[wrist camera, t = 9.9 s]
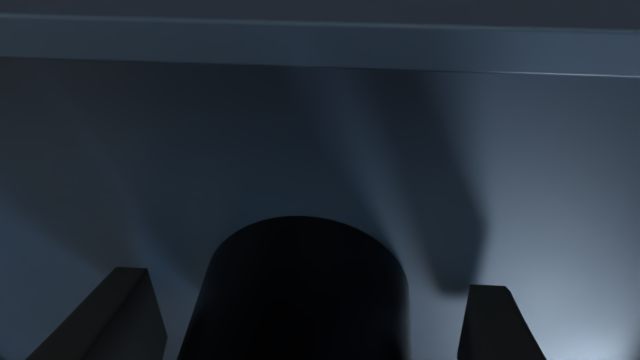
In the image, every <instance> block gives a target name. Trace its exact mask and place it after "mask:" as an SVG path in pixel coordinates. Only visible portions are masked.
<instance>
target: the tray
mask: <svg viewBox="0 0 640 360" xmlns="http://www.w3.org/2000/svg"><path fill="white" fill-rule="evenodd" d="M284 216H310V217H319V218H324V219H330V220H334V221H337V222H341V223H344V224H347V225H349V226H352V227H354V228H357V229H359V230H361V231H363V232H364V233H366V234H368V235H370V236H371V237H373V238H374V239H376V240H377V241H379V242H380V243H381V244H382V245H384V246H385V247H386V248H387V249H388V250H389V251H390V252H391V253H392V254H393V256H394V257H395V258H396V259H397V260H398V262H399V264H400V265H401V267H402V269H403V270H404V273H405V275H406V278H407V280H408V285H409V295H410V321H411V347H412V360H457V352H458V346H459V341H460V336H461V330H462V325H463V320H464V314H465V309H466V304H467V298H468V293H469V288H470V284H476V285H496V286H506V287H507V288H508V289H509V290H510V291H511V294H512V296H513V298H514V300H515V302H516V304H517V306H518V308H519V310H520V312H521V314H522V316H523V318H524V320H525V322H526V323H527V325H528V327H529V329H530V331H531V333H532V335H533V336H534V338H535V340H536V342H537V343H538V345H539V347H540V349H541V350H542V352H543V354H544V356H545V357H546V359H547V360H640V0H0V360H25V359H26V358H27V357H28V356H29V355H30V354H31V353H32V352H33V351H34V350H35V349H36V348H37V347H38V346H39V345H40V344H41V343H42V342H43V341H44V340H45V339H46V338H47V337H48V336H49V335H50V334H51V333H52V332H53V331H54V330H55V329H56V328H57V327H58V326H59V325H60V324H61V323H62V322H63V321H64V320H65V319H66V318H67V317H68V316H69V315H70V314H71V313H72V312H73V311H74V310H75V309H76V308H77V306H78V305H79V304H80V303H81V302H82V301H83V300H84V299H85V298H86V297H87V296H88V295H89V294H90V293H91V292H92V291H93V290H94V289H95V288H96V287H97V286H98V285H99V284H100V283H101V281H102V280H103V279H104V278H105V277H106V276H107V275H108V274H109V273H110V272H111V271H112V270H113V269H114V268H116V267H132V268H148V272H149V275H150V279H151V282H152V285H153V289H154V292H155V295H156V299H157V302H158V305H159V309H160V312H161V316H162V319H163V322H164V326H165V329H166V332H167V336H168V339H167V343H166V347H165V351H164V356H163V360H177V357H178V354H179V352H180V349H181V346H182V343H183V340H184V337H185V334H186V331H187V328H188V325H189V322H190V319H191V316H192V313H193V310H194V307H195V304H196V301H197V298H198V295H199V292H200V289H201V286H202V283H203V280H204V277H205V274H206V271H207V268H208V266H209V263H210V260H211V258H212V256H213V254H214V252H215V251H216V250H217V248H218V247H219V246H220V245H221V244H222V243H223V242H224V241H225V240H226V239H227V238H228V237H229V236H231V235H232V234H234V233H235V232H236V231H238V230H240V229H242V228H244V227H246V226H248V225H250V224H253V223H256V222H258V221H261V220H266V219H270V218H275V217H284Z"/></svg>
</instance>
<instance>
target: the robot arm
mask: <svg viewBox="0 0 640 360" xmlns="http://www.w3.org/2000/svg"><path fill="white" fill-rule="evenodd" d="M167 339H168V336H167V332H166V329H165V326H164V322H163V319H162V316H161V312H160V309H159V305H158V302H157V299H156V295H155V292H154V289H153V285H152V282H151V279H150V275H149V272H148V268H132V267H116V268H114V269H113V270H112V271H111V272H110V273H109V274H108V275H107V276H106V277H105V278H104V279H103V280H102V281H101V283H100V284H99V285H98V286H97V287H96V288H95V289H94V290H93V291H92V292H91V293H90V294H89V295H88V296H87V297H86V298H85V299H84V300H83V301H82V302H81V303H80V304H79V305H78V306H77V308H76V309H75V310H74V311H73V312H72V313H71V314H70V315H69V316H68V317H67V318H66V319H65V320H64V321H63V322H62V323H61V324H60V325H59V326H58V327H57V328H56V329H55V330H54V331H53V332H52V333H51V334H50V335H49V336H48V337H47V338H46V339H45V340H44V341H43V342H42V343H41V344H40V345H39V346H38V347H37V348H36V349H35V350H34V351H33V352H32V353H31V354H30V355H29V356H28V357H27V358H26V359H25V360H163V356H164V351H165V347H166V343H167ZM457 360H547V359H546V357H545V356H544V354H543V352H542V350H541V349H540V347H539V345H538V343H537V342H536V340H535V338H534V336H533V335H532V333H531V331H530V329H529V327H528V325H527V323H526V322H525V320H524V318H523V316H522V314H521V312H520V310H519V308H518V306H517V304H516V302H515V300H514V298H513V296H512V294H511V291H510V290H509V289H508V288H507V287H506V286H496V285H476V284H470V288H469V293H468V298H467V304H466V309H465V314H464V320H463V325H462V330H461V336H460V341H459V346H458V352H457Z"/></svg>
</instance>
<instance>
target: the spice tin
mask: <svg viewBox="0 0 640 360" xmlns="http://www.w3.org/2000/svg"><path fill="white" fill-rule="evenodd" d="M177 360H412V347H411V321H410V295H409V285H408V280H407V278H406V275H405V273H404V270H403V269H402V267H401V265H400V264H399V262H398V260H397V259H396V258H395V257H394V256H393V254H392V253H391V252H390V251H389V250H388V249H387V248H386V247H385V246H384V245H382V244H381V243H380V242H379V241H377V240H376V239H374V238H373V237H371V236H370V235H368V234H366V233H364V232H363V231H361V230H359V229H357V228H354V227H352V226H349V225H347V224H344V223H341V222H337V221H334V220H330V219H324V218H319V217H310V216H284V217H275V218H270V219H266V220H261V221H258V222H256V223H253V224H250V225H248V226H246V227H244V228H242V229H240V230H238V231H236V232H235V233H234V234H232V235H231V236H229V237H228V238H227V239H226V240H225V241H224V242H223V243H222V244H221V245H220V246H219V247H218V248H217V250H216V251H215V252H214V254H213V256H212V258H211V260H210V263H209V266H208V268H207V271H206V274H205V277H204V280H203V283H202V286H201V289H200V292H199V295H198V298H197V301H196V304H195V307H194V310H193V313H192V316H191V319H190V322H189V325H188V328H187V331H186V334H185V337H184V340H183V343H182V346H181V349H180V352H179V354H178V357H177Z"/></svg>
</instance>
